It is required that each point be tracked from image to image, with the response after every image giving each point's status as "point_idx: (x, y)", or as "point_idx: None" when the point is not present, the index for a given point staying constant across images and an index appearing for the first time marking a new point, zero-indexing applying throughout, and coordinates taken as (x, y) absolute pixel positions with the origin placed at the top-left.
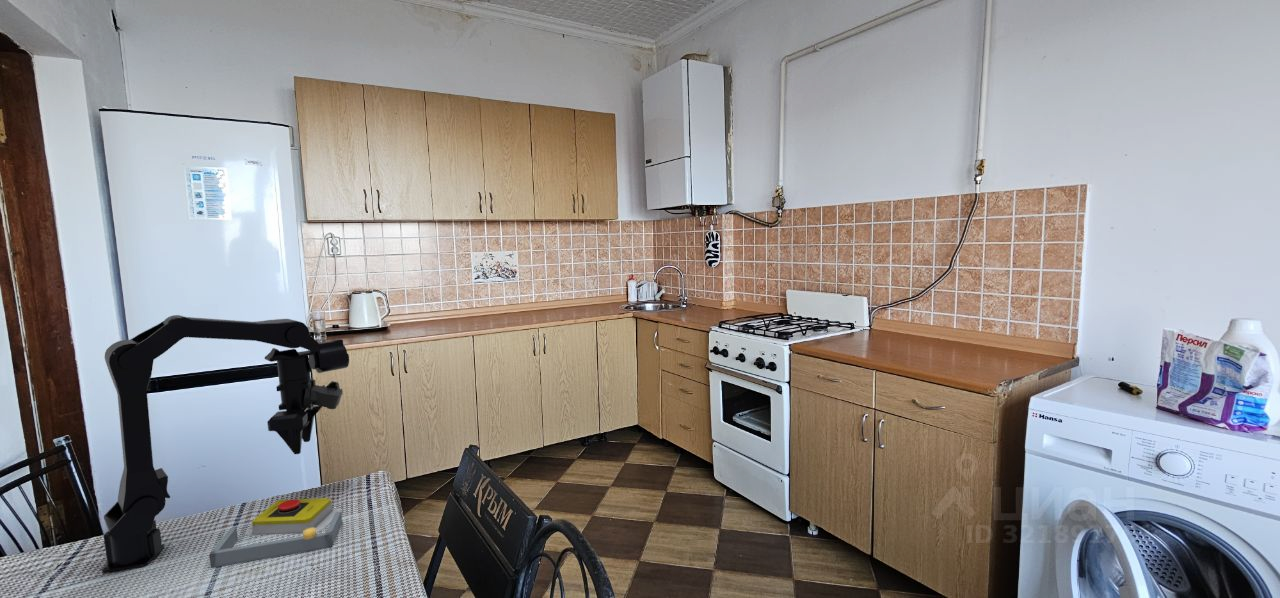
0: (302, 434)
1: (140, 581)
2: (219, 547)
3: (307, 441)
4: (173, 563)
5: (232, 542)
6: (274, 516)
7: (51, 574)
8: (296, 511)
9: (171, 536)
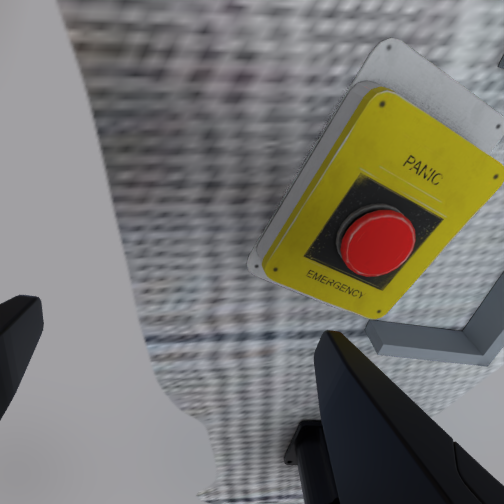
0: (3, 400)
1: None
2: (472, 356)
3: (39, 309)
4: None
5: (402, 330)
6: (392, 272)
7: (293, 500)
8: (407, 214)
9: (254, 421)
